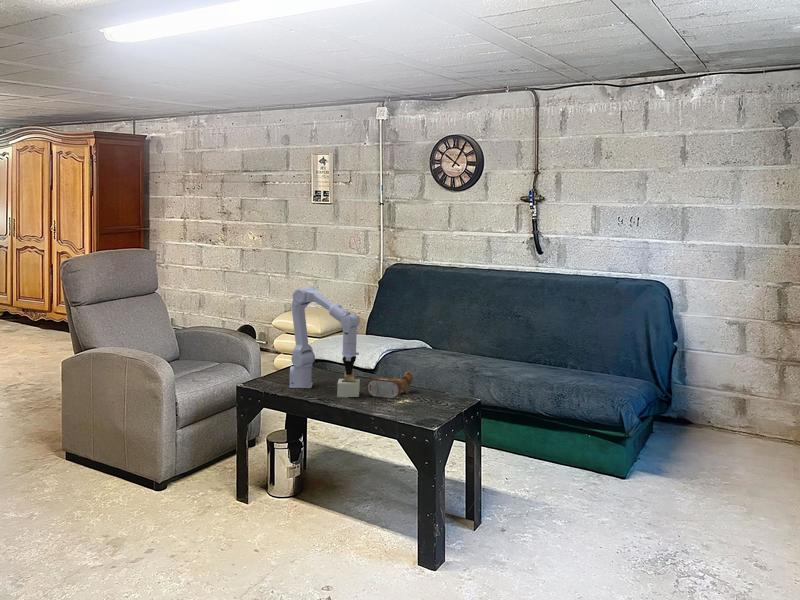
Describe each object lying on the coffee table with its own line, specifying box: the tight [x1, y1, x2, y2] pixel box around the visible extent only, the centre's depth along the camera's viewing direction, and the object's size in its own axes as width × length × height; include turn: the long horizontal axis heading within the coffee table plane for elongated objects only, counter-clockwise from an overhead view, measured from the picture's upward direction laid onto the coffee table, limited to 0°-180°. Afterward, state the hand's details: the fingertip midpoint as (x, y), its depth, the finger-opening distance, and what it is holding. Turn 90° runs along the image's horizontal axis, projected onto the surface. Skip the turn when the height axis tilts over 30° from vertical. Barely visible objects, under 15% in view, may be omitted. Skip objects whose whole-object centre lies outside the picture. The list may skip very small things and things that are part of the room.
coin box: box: [336, 378, 361, 398], centre depth 300 cm, size 9×8×6 cm
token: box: [343, 371, 355, 382], centre depth 299 cm, size 4×2×4 cm, turn 91°
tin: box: [366, 376, 402, 400], centre depth 298 cm, size 15×3×8 cm, turn 74°
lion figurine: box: [394, 371, 414, 394], centre depth 305 cm, size 15×5×9 cm, turn 130°
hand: (349, 374), depth 299 cm, fingers closed on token, 2 cm apart
